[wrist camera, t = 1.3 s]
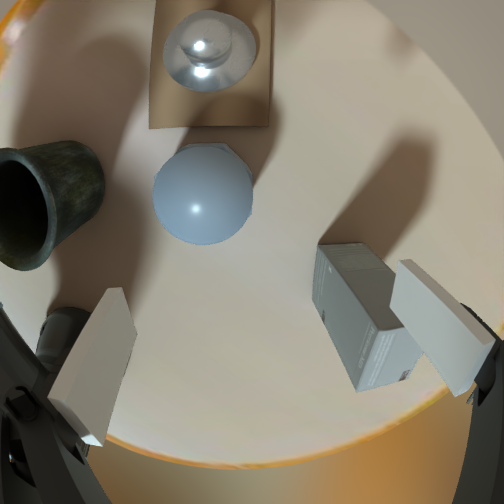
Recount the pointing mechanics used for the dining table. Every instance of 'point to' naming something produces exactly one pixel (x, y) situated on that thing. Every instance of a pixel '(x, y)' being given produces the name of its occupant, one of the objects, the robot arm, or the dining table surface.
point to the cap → (203, 193)
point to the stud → (209, 51)
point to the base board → (210, 103)
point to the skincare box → (362, 315)
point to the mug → (45, 199)
